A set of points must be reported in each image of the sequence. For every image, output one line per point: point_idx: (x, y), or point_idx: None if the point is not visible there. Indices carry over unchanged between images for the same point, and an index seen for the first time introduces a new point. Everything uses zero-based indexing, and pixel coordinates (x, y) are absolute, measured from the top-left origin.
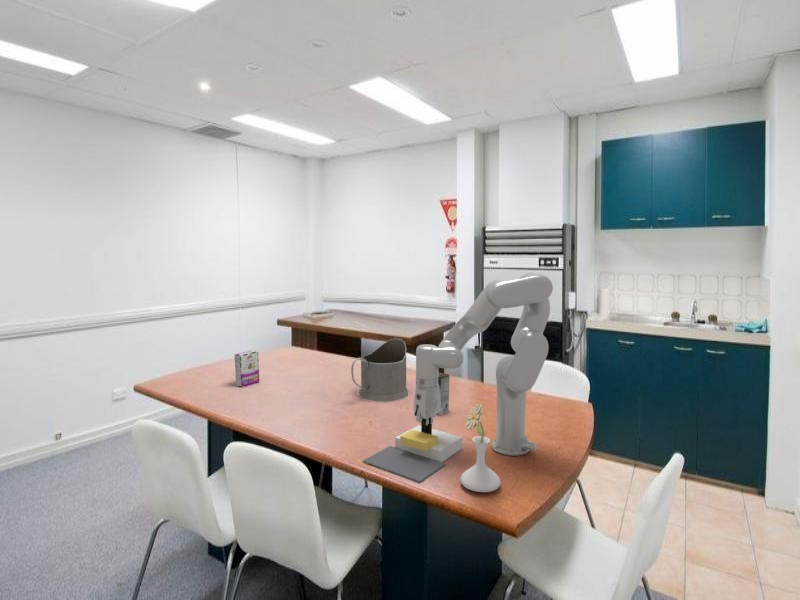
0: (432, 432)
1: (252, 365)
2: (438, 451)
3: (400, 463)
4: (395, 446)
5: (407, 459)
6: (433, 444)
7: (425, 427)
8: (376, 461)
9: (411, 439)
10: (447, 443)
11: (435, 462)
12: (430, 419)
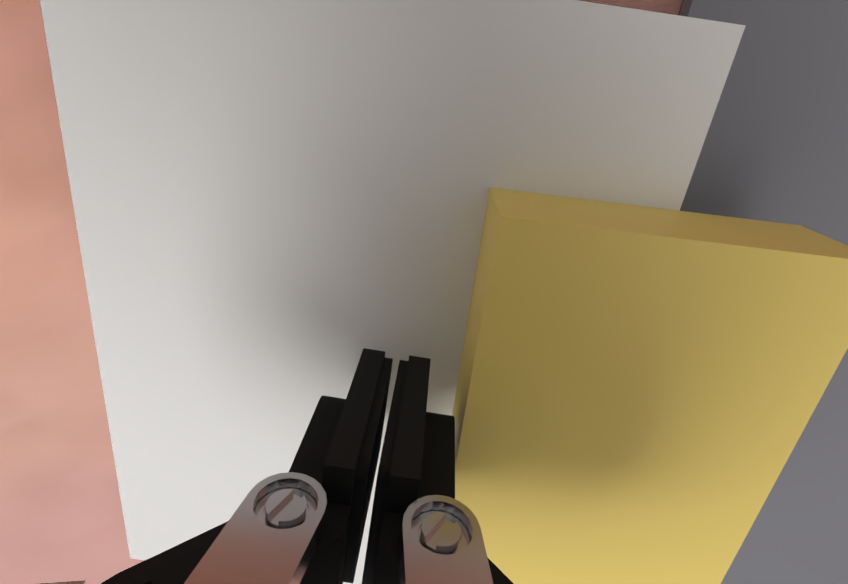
0: (197, 381)
1: None
2: (726, 63)
3: (832, 383)
4: None
5: None
6: (607, 207)
7: (451, 495)
8: (835, 540)
9: (766, 493)
10: (411, 47)
11: None
12: (298, 571)
